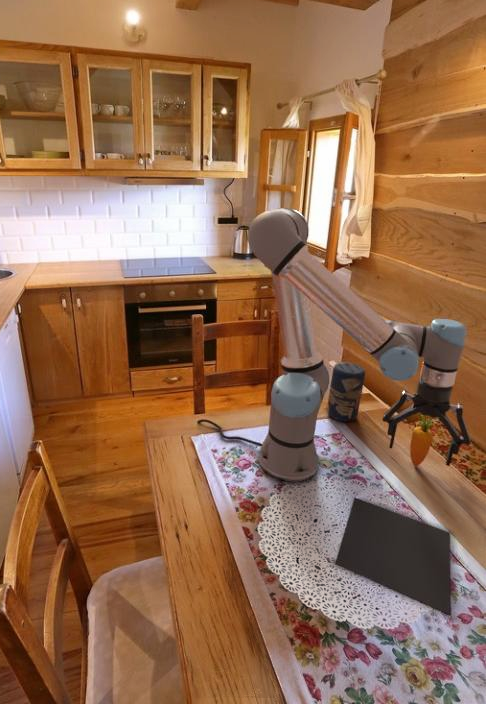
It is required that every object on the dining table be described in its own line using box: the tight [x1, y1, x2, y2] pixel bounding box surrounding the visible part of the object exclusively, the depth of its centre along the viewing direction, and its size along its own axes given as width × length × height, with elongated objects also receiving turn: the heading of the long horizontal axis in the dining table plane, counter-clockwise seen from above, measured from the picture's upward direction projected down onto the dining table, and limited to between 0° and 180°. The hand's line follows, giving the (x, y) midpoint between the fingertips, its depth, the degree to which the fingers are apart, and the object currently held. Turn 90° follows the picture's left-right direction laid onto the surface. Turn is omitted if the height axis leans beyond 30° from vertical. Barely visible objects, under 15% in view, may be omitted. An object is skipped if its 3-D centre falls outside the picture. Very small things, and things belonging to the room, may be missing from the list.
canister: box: [326, 361, 366, 422], centre depth 127 cm, size 10×10×18 cm
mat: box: [334, 497, 451, 616], centre depth 83 cm, size 20×20×1 cm
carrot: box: [409, 415, 434, 467], centre depth 105 cm, size 5×5×15 cm
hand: (418, 454), depth 106 cm, fingers open, 13 cm apart
